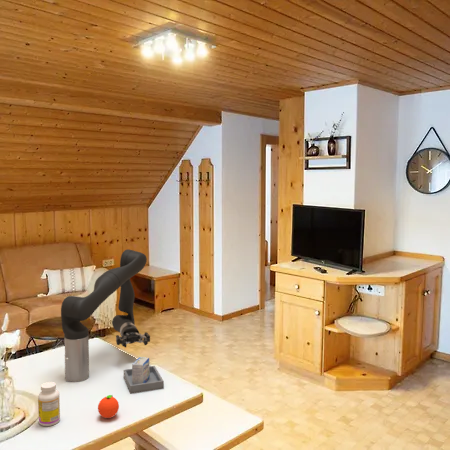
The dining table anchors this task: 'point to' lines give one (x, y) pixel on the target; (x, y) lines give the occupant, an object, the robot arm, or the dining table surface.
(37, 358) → the dining table surface
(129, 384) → the tray
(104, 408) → the clementine
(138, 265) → the robot arm
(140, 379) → the medicine box
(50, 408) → the supplement bottle
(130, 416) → the dining table surface
